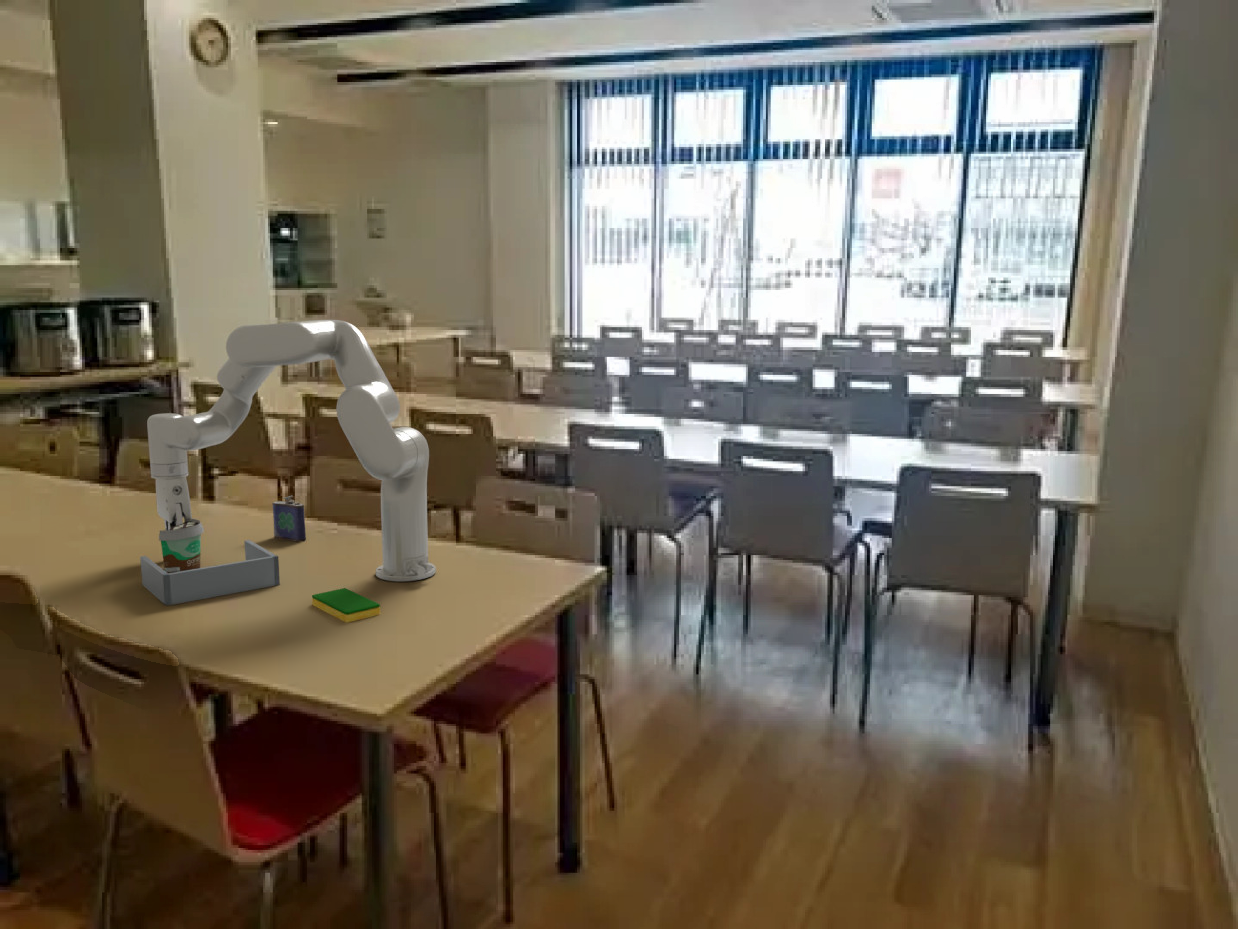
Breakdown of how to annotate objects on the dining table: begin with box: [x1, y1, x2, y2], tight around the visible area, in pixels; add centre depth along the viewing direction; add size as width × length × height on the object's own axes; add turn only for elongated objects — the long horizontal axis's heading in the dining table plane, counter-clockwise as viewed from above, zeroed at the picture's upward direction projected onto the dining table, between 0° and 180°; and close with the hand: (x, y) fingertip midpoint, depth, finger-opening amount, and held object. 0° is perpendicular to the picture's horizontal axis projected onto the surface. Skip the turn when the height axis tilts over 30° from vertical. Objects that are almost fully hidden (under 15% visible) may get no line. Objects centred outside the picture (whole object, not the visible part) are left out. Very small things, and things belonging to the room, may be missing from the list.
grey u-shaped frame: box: [139, 539, 281, 607], centre depth 198 cm, size 17×22×6 cm
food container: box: [158, 517, 205, 573], centre depth 208 cm, size 12×6×10 cm, turn 179°
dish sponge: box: [311, 587, 381, 623], centre depth 184 cm, size 7×14×2 cm, turn 43°
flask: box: [272, 495, 307, 543], centre depth 234 cm, size 9×3×11 cm, turn 65°
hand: (175, 550), depth 216 cm, fingers closed
